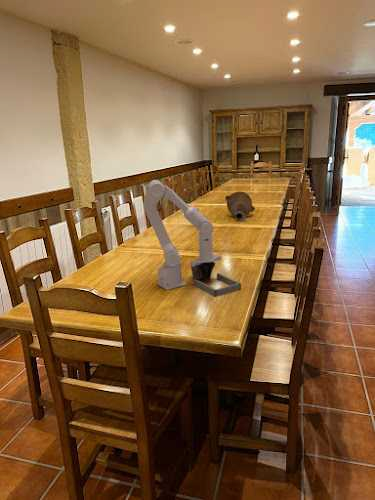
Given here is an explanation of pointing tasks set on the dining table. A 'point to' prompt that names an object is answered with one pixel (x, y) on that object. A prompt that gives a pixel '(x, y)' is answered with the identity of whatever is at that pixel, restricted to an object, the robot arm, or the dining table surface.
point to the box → (196, 272)
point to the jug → (239, 205)
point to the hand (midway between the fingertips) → (206, 278)
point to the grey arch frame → (216, 292)
